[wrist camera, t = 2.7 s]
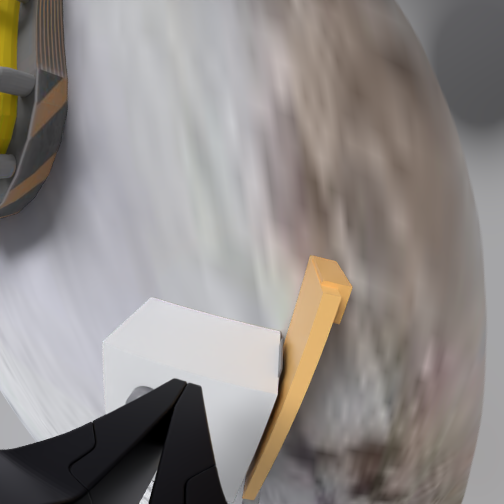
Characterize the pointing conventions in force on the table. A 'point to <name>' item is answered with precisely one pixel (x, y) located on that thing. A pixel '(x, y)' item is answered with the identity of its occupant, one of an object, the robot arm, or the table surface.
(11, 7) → the cage light
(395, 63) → the table surface
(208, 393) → the block
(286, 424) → the side door
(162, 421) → the robot arm
